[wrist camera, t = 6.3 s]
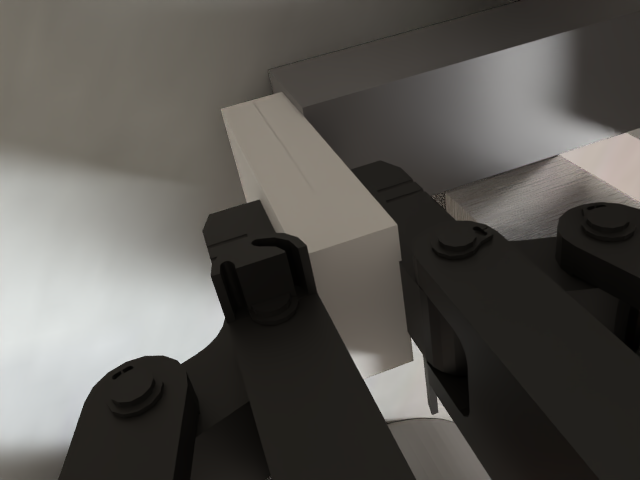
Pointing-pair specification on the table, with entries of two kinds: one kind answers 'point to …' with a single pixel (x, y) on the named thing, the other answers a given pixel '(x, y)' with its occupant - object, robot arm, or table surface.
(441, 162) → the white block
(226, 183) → the table surface
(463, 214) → the grey arch block
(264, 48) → the table surface
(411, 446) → the coffee mug
